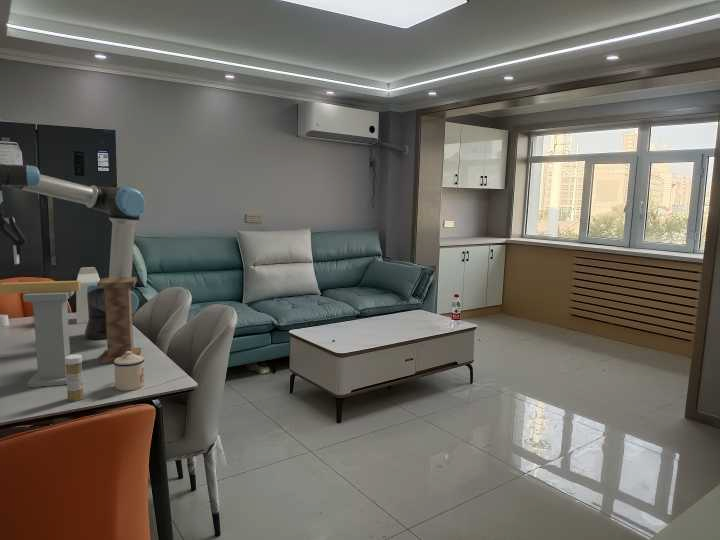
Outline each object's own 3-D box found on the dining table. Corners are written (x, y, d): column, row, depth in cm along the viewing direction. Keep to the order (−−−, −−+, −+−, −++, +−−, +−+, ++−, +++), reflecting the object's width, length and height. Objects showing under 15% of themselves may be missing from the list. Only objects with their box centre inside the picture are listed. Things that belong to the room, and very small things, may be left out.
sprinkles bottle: (72, 395, 161) (70, 353, 159) (87, 396, 161) (84, 354, 159) (64, 401, 157) (61, 358, 155) (78, 402, 157) (76, 358, 155)
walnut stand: (99, 364, 191) (95, 283, 187) (105, 353, 204) (101, 277, 199) (138, 361, 195) (134, 282, 191) (141, 351, 208) (138, 276, 203)
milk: (76, 323, 249) (73, 269, 245) (77, 318, 259) (73, 266, 255) (104, 321, 255) (101, 268, 251) (103, 316, 265) (101, 265, 261)
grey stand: (27, 387, 167) (20, 295, 163) (38, 374, 179) (32, 288, 175) (73, 384, 171) (67, 294, 167) (81, 371, 183) (76, 287, 179)
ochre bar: (1, 293, 165) (0, 284, 165) (4, 292, 168) (3, 282, 168) (78, 291, 172) (78, 282, 172) (80, 289, 175) (80, 280, 175)
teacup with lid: (147, 388, 169) (146, 353, 167) (116, 393, 164) (115, 357, 162) (140, 377, 179) (139, 344, 177) (111, 381, 174) (110, 347, 172)
